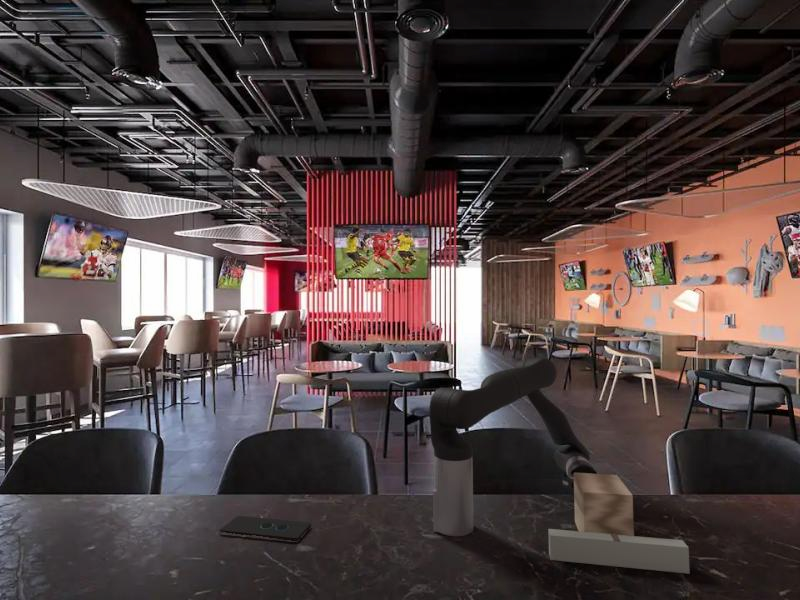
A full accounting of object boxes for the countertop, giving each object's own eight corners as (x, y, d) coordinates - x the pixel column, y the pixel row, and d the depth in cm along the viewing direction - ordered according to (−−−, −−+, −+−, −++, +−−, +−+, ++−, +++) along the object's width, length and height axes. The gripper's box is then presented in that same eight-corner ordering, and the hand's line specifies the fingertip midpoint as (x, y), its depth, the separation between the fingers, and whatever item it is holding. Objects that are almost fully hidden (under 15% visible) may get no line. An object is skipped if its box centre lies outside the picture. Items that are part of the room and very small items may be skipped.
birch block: (585, 547, 98) (583, 491, 99) (574, 521, 111) (573, 472, 112) (634, 552, 96) (632, 495, 97) (618, 525, 109) (616, 475, 109)
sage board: (550, 559, 93) (549, 534, 93) (548, 552, 96) (548, 528, 96) (689, 573, 88) (688, 546, 88) (683, 565, 91) (682, 539, 91)
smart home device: (297, 537, 101) (218, 529, 105) (297, 545, 101) (218, 537, 105) (312, 521, 109) (238, 514, 113) (312, 529, 109) (238, 521, 113)
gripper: (556, 458, 130) (565, 478, 113) (605, 461, 128) (622, 482, 111) (557, 484, 130) (566, 508, 113) (606, 487, 127) (623, 513, 110)
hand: (593, 495), depth 112 cm, fingers closed
